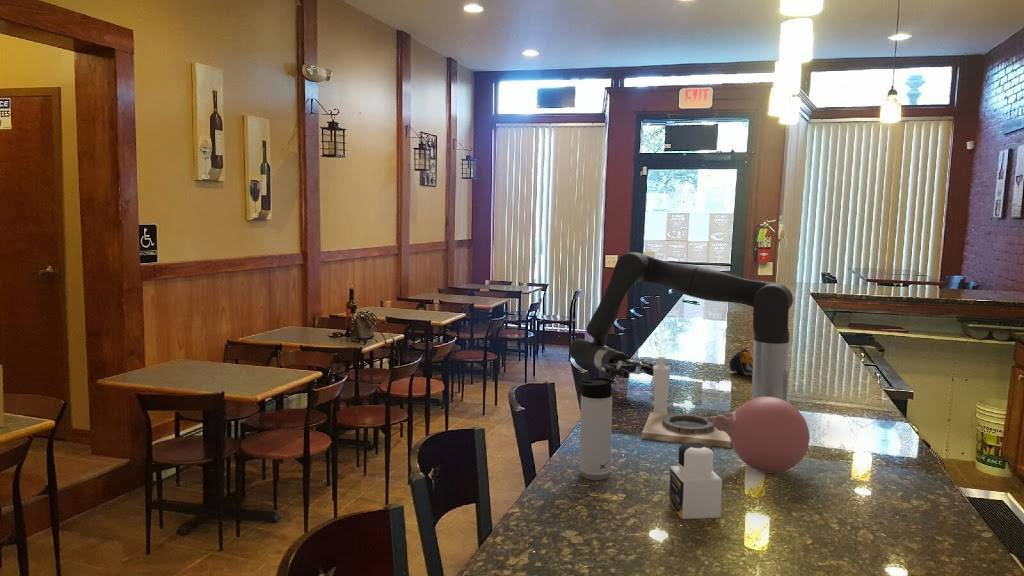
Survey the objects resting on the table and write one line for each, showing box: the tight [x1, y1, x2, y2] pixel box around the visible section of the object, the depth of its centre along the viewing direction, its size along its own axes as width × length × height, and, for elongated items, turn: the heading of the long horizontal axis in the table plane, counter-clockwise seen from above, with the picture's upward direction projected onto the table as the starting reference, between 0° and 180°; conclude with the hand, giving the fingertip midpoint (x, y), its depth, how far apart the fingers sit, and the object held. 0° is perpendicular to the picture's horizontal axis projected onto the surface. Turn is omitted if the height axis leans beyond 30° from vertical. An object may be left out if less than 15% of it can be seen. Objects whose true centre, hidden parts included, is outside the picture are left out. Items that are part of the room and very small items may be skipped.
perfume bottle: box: [652, 356, 672, 414], centre depth 182 cm, size 5×4×15 cm
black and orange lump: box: [729, 348, 753, 378], centre depth 222 cm, size 9×11×18 cm
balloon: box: [707, 397, 810, 474], centre depth 143 cm, size 15×20×15 cm
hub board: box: [641, 412, 732, 449], centre depth 167 cm, size 20×17×3 cm
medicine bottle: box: [668, 442, 723, 520], centre depth 123 cm, size 7×7×12 cm
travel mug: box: [579, 377, 615, 481], centre depth 139 cm, size 6×7×20 cm
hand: (641, 373), depth 191 cm, fingers open, 8 cm apart
